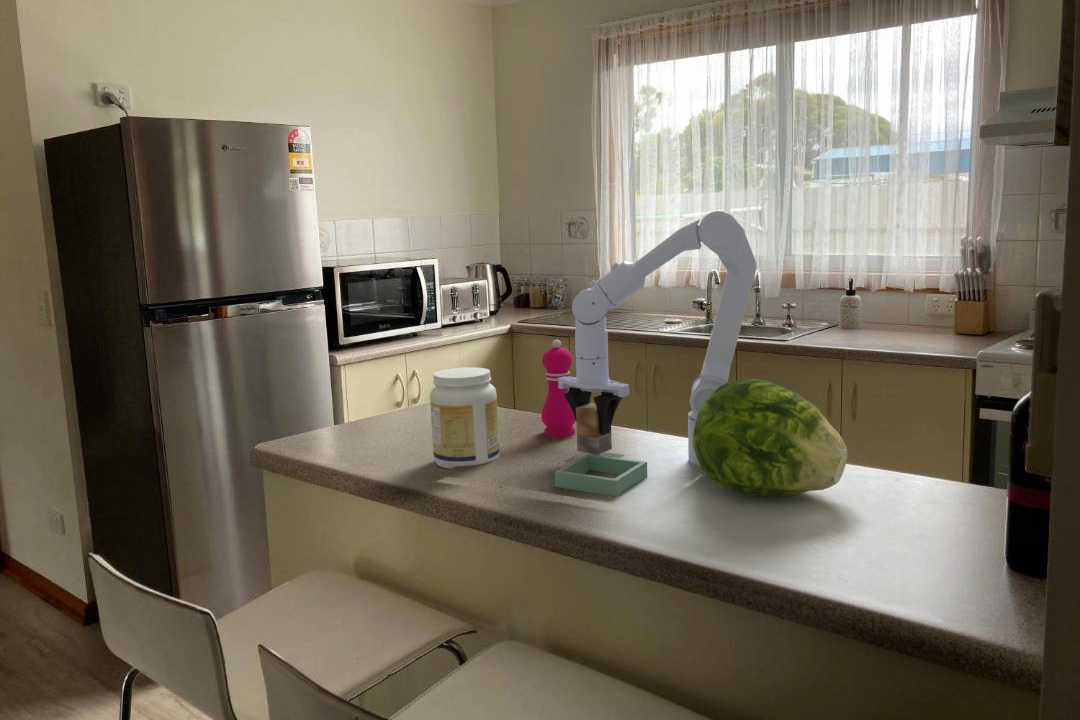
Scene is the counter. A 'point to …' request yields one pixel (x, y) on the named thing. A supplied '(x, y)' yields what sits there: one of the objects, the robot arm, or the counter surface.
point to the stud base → (593, 454)
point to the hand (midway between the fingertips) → (594, 431)
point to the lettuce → (766, 441)
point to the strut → (590, 431)
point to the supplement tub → (464, 417)
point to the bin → (577, 480)
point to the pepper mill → (557, 393)
